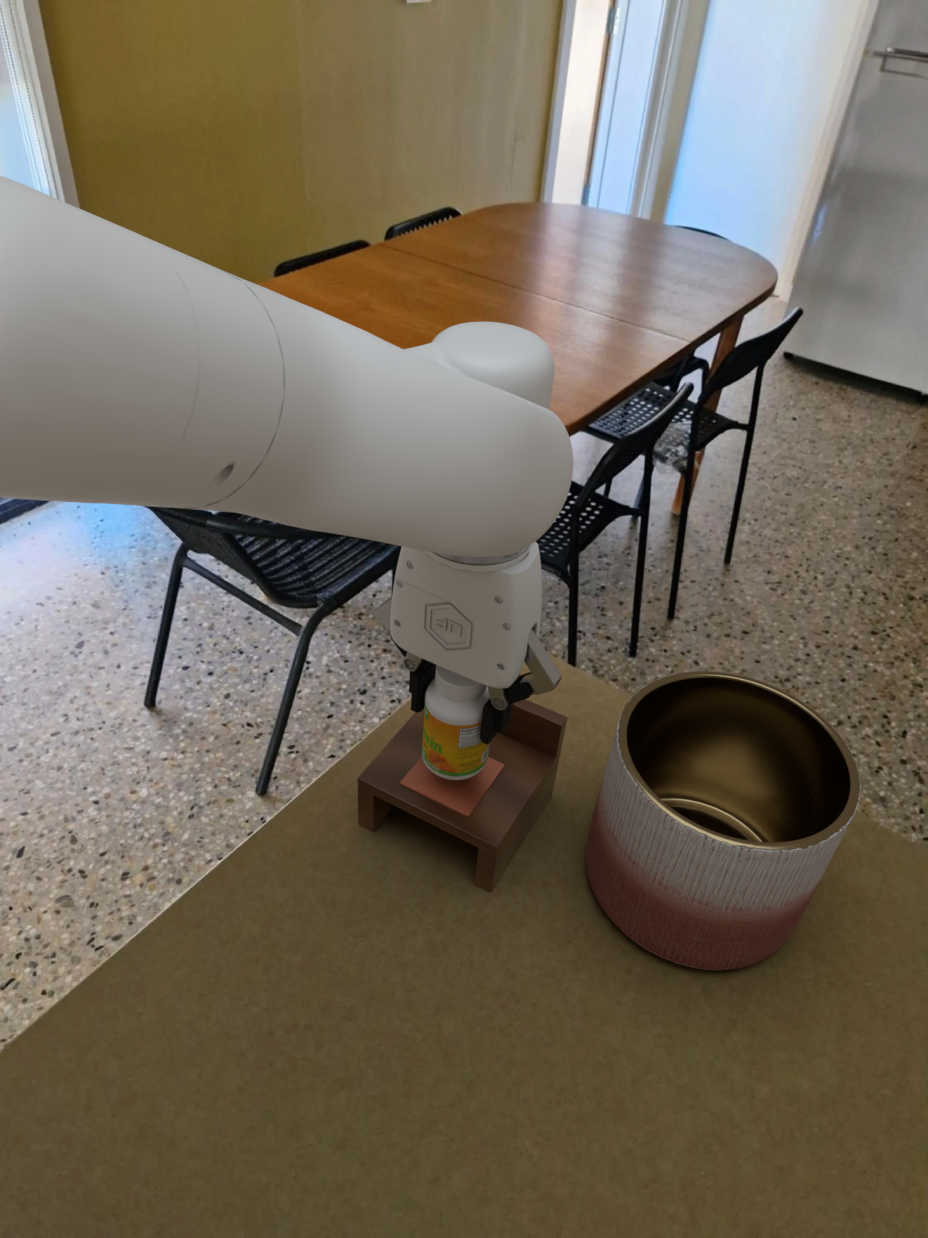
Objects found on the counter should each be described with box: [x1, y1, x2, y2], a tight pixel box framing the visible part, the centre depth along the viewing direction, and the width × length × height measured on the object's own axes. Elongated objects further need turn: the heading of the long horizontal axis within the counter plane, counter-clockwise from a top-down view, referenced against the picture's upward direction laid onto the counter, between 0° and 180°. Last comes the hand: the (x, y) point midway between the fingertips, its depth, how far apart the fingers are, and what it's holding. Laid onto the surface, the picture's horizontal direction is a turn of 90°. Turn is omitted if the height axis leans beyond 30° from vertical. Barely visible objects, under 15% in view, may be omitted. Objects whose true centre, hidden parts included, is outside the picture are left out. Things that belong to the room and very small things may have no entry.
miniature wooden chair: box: [357, 699, 569, 893], centre depth 75 cm, size 12×13×10 cm
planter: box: [585, 670, 862, 971], centre depth 69 cm, size 18×18×16 cm
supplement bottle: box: [422, 665, 490, 780], centre depth 69 cm, size 5×5×10 cm
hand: (458, 715), depth 69 cm, fingers closed on supplement bottle, 5 cm apart
